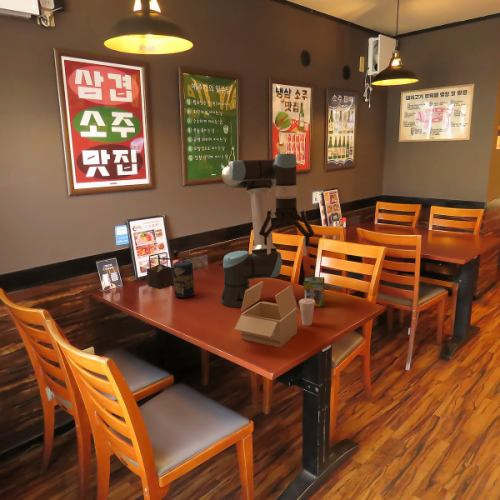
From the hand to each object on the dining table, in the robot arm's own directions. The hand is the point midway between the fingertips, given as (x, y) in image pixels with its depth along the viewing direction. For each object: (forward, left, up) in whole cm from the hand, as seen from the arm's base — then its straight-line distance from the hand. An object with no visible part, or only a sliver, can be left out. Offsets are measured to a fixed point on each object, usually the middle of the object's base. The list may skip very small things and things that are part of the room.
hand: (286, 254), depth 158 cm
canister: (-63, +15, -30) cm, 71 cm away
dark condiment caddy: (-85, +26, -30) cm, 94 cm away
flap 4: (-4, +3, -22) cm, 22 cm away
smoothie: (+4, +9, -30) cm, 32 cm away
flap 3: (+3, -8, -15) cm, 18 cm away
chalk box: (-2, +32, -30) cm, 44 cm away
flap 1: (-10, -8, -15) cm, 20 cm away
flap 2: (-4, -18, -22) cm, 29 cm away
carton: (-4, -8, -30) cm, 32 cm away
